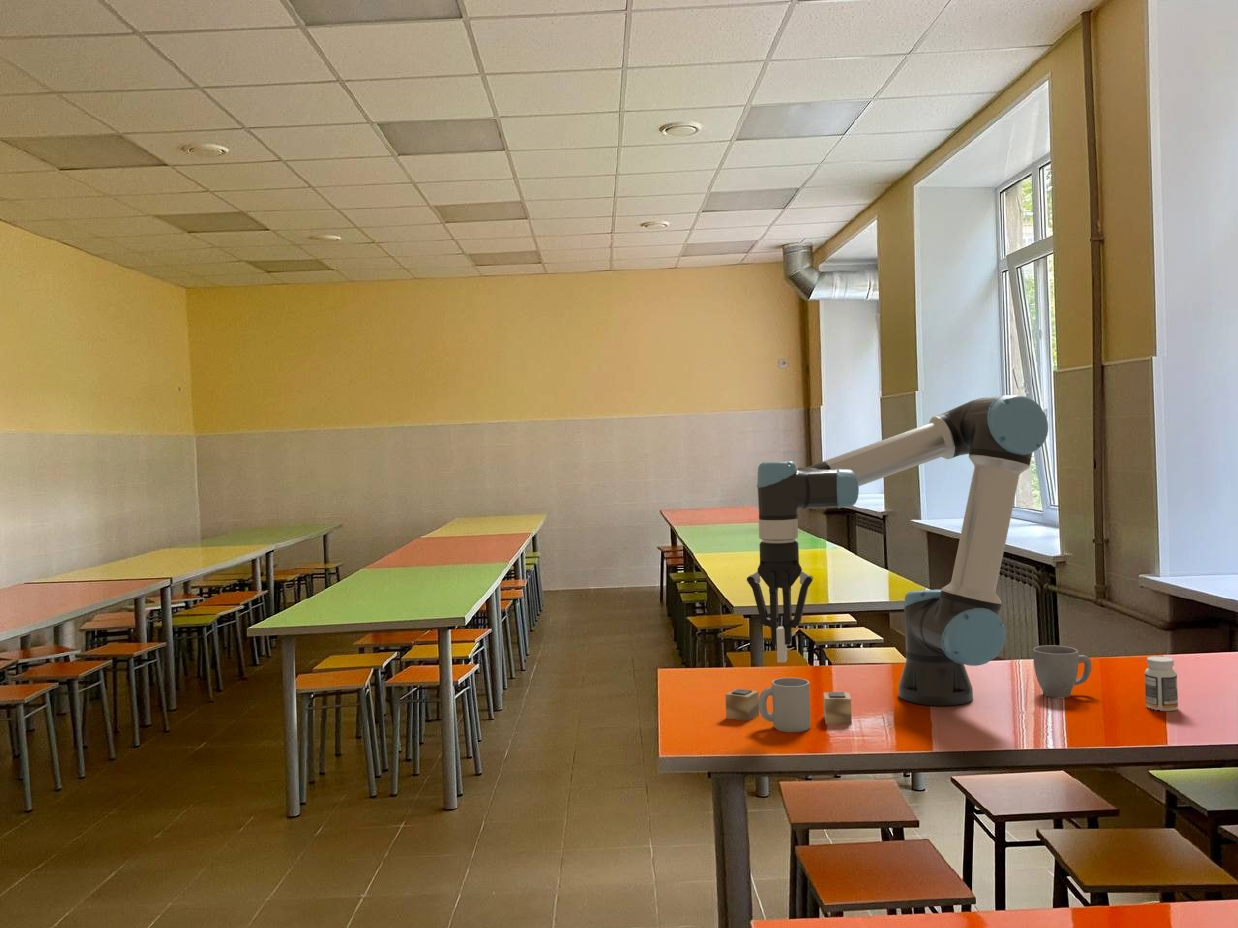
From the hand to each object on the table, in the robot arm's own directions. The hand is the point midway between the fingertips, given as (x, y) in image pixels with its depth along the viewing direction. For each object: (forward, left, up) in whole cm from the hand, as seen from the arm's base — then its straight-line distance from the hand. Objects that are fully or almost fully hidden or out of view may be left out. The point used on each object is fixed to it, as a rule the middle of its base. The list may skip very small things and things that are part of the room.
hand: (782, 660), depth 193 cm
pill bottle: (-71, -27, -13) cm, 77 cm away
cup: (0, 0, -13) cm, 13 cm away
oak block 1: (+9, -6, -13) cm, 17 cm away
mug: (-54, -35, -13) cm, 66 cm away
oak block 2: (-10, -7, -13) cm, 18 cm away
